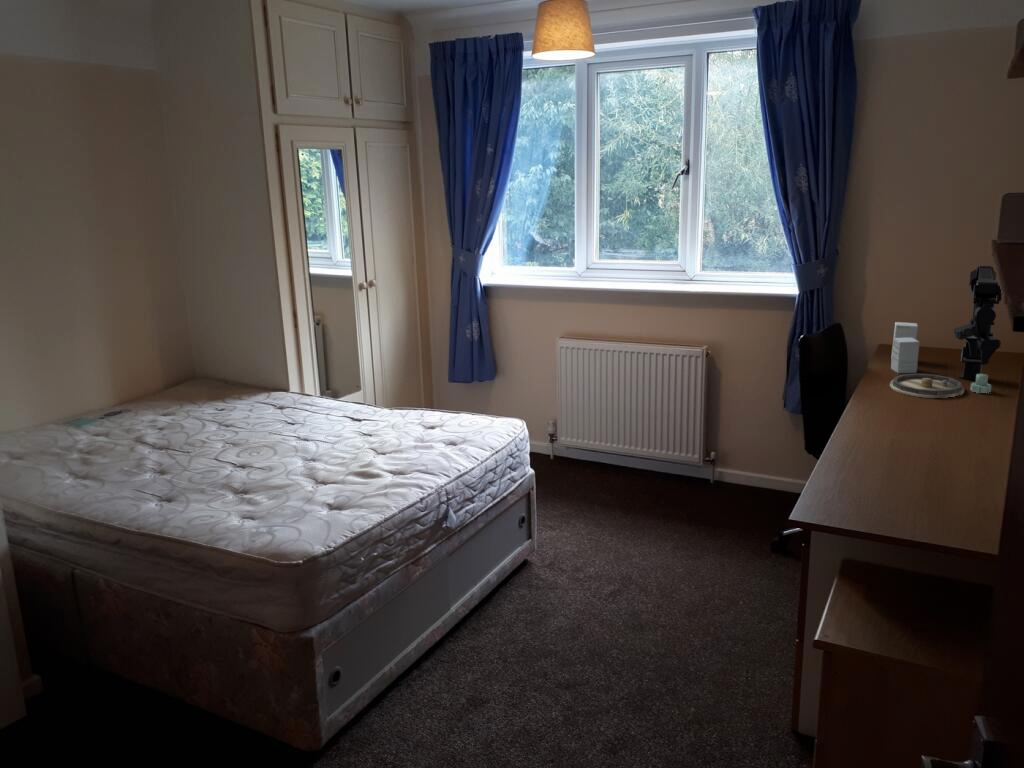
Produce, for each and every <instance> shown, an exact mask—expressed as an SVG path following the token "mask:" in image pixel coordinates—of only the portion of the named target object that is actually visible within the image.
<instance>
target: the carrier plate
mask: <svg viewBox="0 0 1024 768" xmlns="http://www.w3.org/2000/svg"><path fill="white" fill-rule="evenodd" d="M890 387H891V388H890ZM889 388H890V389H891V390H892V389H893V390H892V391H894V392H896V393H898V392H899V394H901V393H902V395H904V394H905V395H906V396H909V395H910V397H914V396H915V398H921V397H922V398H923V399H935V398H942V399H949V398H948V397H953V398H956V397H955V396H958V397H960V396H962V395H963V394H964V393H965V387H964V386H963V385H962V382H961V381H959V380H957V379H956V378H953V377H950V376H945V375H938V374H933V373H932V374H931V373H929V374H928V373H902V374H900V375H897V376H894V377H893V378H892V380H891V381H890V382H889ZM959 395H960V396H959Z"/></svg>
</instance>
